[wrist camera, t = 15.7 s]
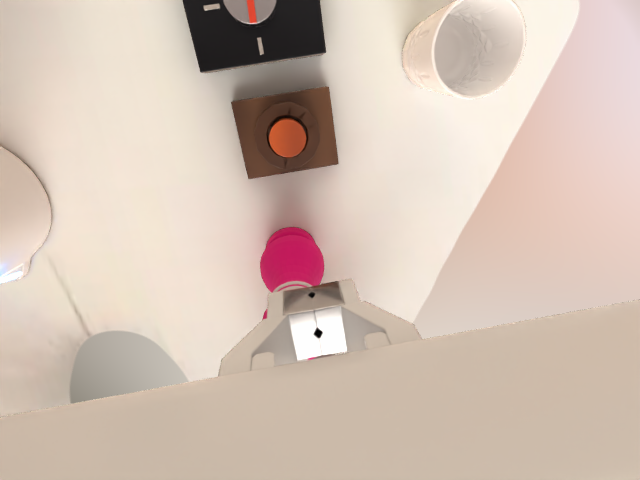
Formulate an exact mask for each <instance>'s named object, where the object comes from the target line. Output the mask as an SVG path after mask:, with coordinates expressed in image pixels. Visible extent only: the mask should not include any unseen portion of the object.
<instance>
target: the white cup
mask: <svg viewBox="0 0 640 480" xmlns="http://www.w3.org/2000/svg"><path fill="white" fill-rule="evenodd" d="M525 45H526V25H525V21H524V17H523V15H522V12H521V10H520V9H519V7H518V5H517V4H516V3H515V2H514V1H513V0H455V1H454V2H452V3H450V4H448V5H447V6H445V7H443V8H441V9H440V10H438V11H437V12H435V13H433V14H432V15H430V16H429V17H428V18H426V19H425V20H424V21H422V22H420V23H419V24H418V25H417V26H416V27H415V28H414V29H413V30H412V31H411V32H410V34H409V35H408V36H407V39H406V42H405V45H404V47H403V50H402V59H403V68H404V70H405V72H406V74H407V76H408V78H409V80H410V81H412V82H413V83H414V84H416V85H417V86H419V87H420V88H424V89H427V90H430V91H433V92H437V93H440V94H444V95H449V96H454V97H459V98H464V99H478V98H483V97H486V96H488V95H491V94H493V93H494V92H496V91H497V90H499V89H500V88H502V87H503V86H504V85H505V84H506V83H507V82H508V81H509V80H510V79H511V77H512V76H513V75H514V73H515V72H516V70H517V68H518V66H519V64H520V62H521V60H522V57H523V54H524V50H525Z"/></svg>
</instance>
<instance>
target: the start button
mask: <svg viewBox="0 0 640 480" xmlns="http://www.w3.org/2000/svg"><path fill="white" fill-rule="evenodd" d="M269 141H270V145H271V147H272V149H273V150H274V151H275V152H276V153H277V154H278V155H280V156H283V157H293V156H296V155H298V154H299V153H300V152H301V151H302V150H303V148H304V147H305V144H306V134H305V131H304V129H303V127H302V125H301V124H300V123H299V122H298V121H296V120H294V119H291V118H283V119H280V120H278V121H277V122H275V123H274V125H273V126H272V128H271V130H270V135H269Z"/></svg>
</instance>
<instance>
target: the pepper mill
mask: <svg viewBox="0 0 640 480" xmlns="http://www.w3.org/2000/svg"><path fill="white" fill-rule="evenodd" d="M260 269H261V276H262V279H263V281H264V283H265V285H266V287H267V288H268V289H269V290H270V291H271V292H272V293H273V292H278V291H285V290H291V289H297V288H304V287H310V286H316V285H319V284H320V282H321V279H322V277H323V273H324V260H323V256H322V253H321V251H320V249H319V248H318V246H317V245H316V244H315V241H314V239H313V238H312V236H311V235H310V234H309V233H308V232H306V231H305V230H303V229H300V228H296V227H288V228H283V229H280V230H278V231H277V232H275V233H274V234H273V235H272V236H271V237H270V239H269V240H268V242H267V245H266V249H265V251H264V252H263V255H262V257H261V262H260ZM263 319H267V310H266V311H265V313H264V316H263ZM263 319H262V320H263ZM316 357H317V356H316ZM313 358H315V357H311V358H307V359H302V360H298V362H302V361H307V360H312V359H313Z"/></svg>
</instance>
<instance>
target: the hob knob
mask: <svg viewBox="0 0 640 480" xmlns="http://www.w3.org/2000/svg"><path fill="white" fill-rule="evenodd" d="M223 1H224V4H225V6H226V8H227V10H228V11H229V13H230V14H231V15H232V17H233V18H234V19H235V20H236V21H237V22H238V23H239V24H240V25H242V26H243V27H246V28H249V29H260V28H262V27H264V26H266V25H267V24H269V23H270V22H271V20H272V19H273V17H274V15H275V13H276V9H277V0H223Z"/></svg>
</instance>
